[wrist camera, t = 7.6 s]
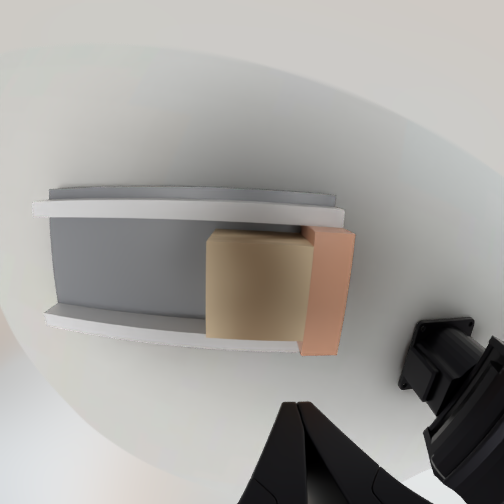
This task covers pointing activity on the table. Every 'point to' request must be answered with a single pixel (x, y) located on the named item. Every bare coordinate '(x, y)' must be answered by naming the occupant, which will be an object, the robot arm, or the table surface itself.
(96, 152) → the table surface
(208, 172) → the table surface
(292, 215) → the channel
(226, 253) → the tan block
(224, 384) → the table surface
